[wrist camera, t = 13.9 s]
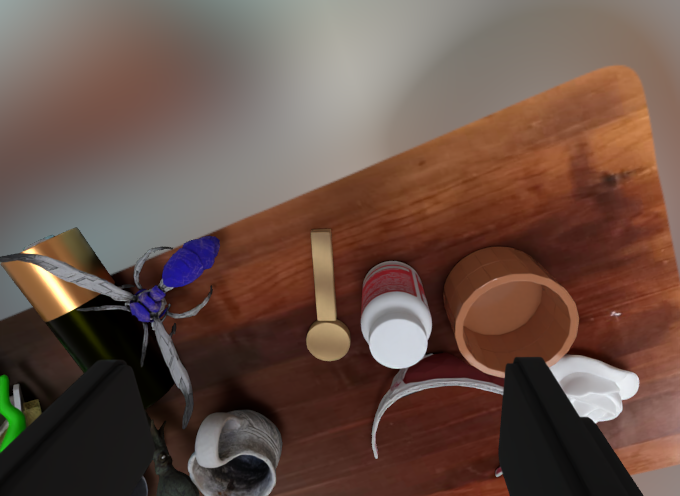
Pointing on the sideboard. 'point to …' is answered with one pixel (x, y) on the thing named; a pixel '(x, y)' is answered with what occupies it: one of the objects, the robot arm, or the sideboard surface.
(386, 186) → the sideboard surface
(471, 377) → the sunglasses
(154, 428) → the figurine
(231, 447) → the mug
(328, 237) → the wooden spoon
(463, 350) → the pot
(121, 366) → the robot arm
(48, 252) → the battery
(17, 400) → the platform
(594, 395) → the rose
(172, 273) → the mechanical insect
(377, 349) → the pill bottle
